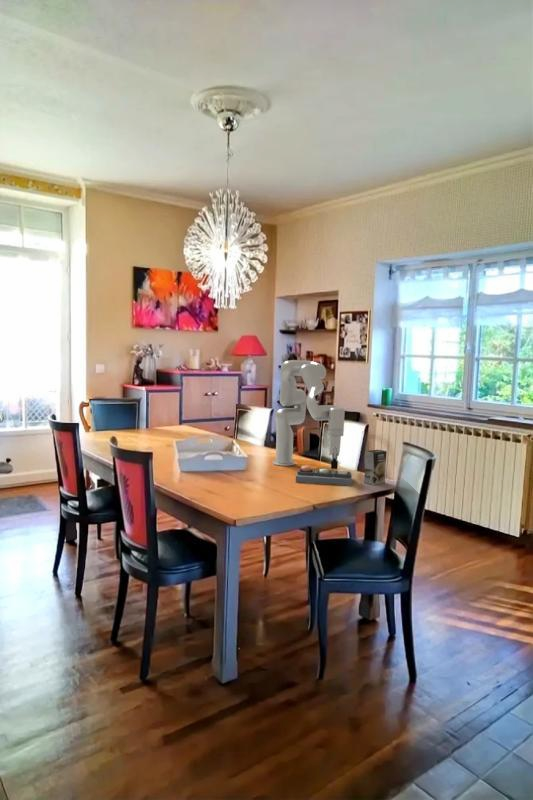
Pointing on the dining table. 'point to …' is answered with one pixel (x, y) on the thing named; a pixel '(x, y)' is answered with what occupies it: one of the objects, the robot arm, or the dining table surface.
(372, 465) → the coffee box
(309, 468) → the terracotta button
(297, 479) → the button panel
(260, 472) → the dining table surface
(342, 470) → the cream button
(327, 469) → the sage button
